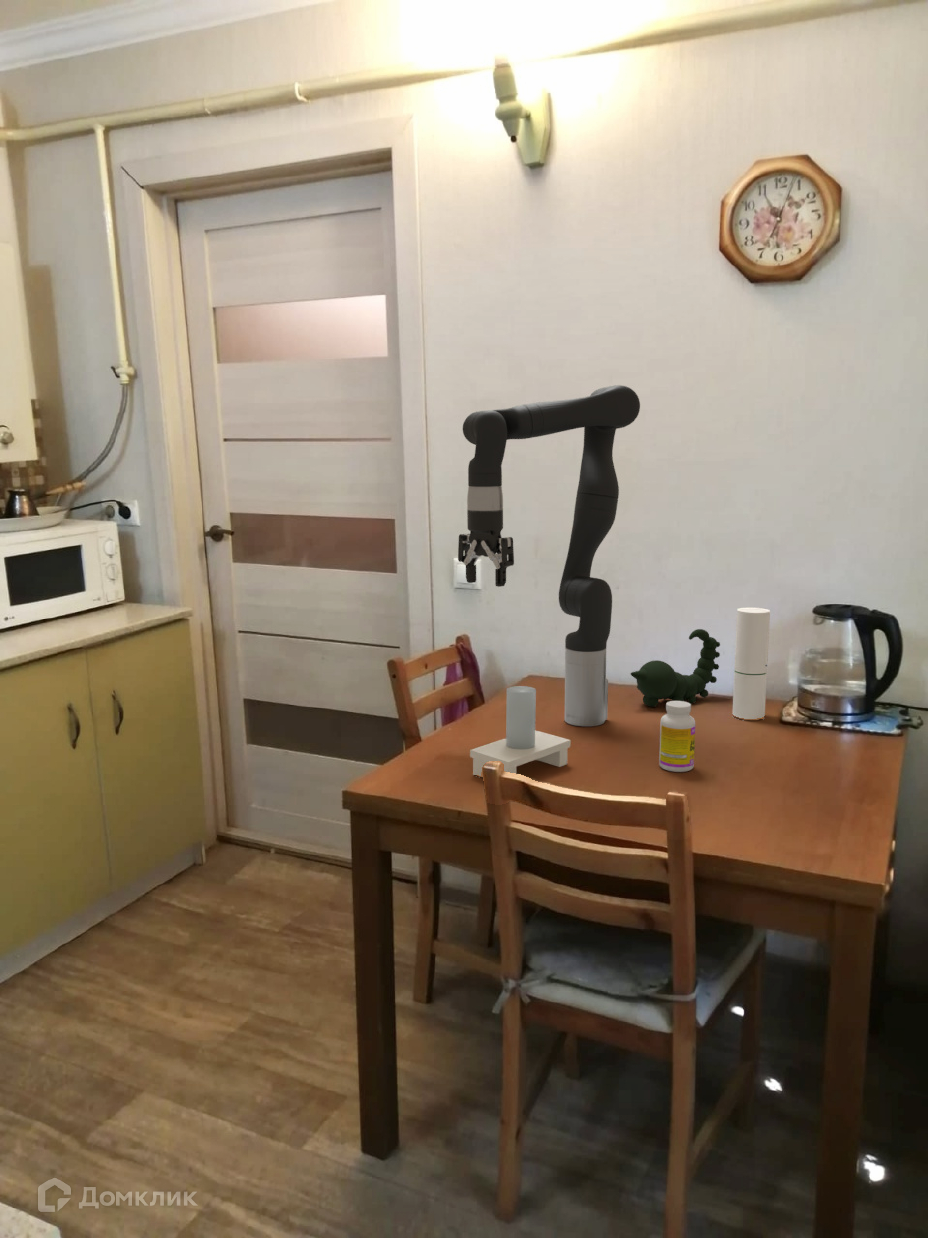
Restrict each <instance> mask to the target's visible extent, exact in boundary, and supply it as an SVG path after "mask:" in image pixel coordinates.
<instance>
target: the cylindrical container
mask: <svg viewBox="0 0 928 1238" xmlns="http://www.w3.org/2000/svg"><path fill="white" fill-rule="evenodd" d="M770 620H771V610H770V609H767V608H761V607H740V608H739V607H738V608H737V610H736V629H735V631H736V632H735V646H734V648H735V649H734V652H735V653H734V670H733V671H734V672H733V674H734V675H733V693H732V694H733V695H732V712H731V713H732V714H733V715H734V716H736V717H739V718H744V719H757V718H762V717H764V716H765V715H766V697H767V679H768V678H767V677H768V676H767V675H768V660H769V659H768V658H769V657H768V656H769V640H770V639H769V638H770V636H769V635H770V623H771V622H770ZM732 714H731V715H732ZM765 717H766V716H765Z"/></svg>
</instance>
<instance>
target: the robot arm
mask: <svg viewBox="0 0 928 1238" xmlns="http://www.w3.org/2000/svg"><path fill="white" fill-rule="evenodd" d="M640 410H641V402H640V398H639V396H638V394H637V392H636V391H635V390H633V389H632V388H631V387H628V386H626V385H621V384H617V385H616V384H615V385H612V386H611V385H610V386H606V387H601V388H598V389H596V390H593V392H592V393H591V394H590V395H589V396H583V397H578V398H570V399H561V400H551V401H550V400H549V401H541V402H540V401H539V402H534V403H533V402H531V403H526V404H521V405H515V406H512V407H508V408H499V409H488V410H479V411H475V412H472V413H470V414H469V415H468V416H467V417H466V418H465V420H464V421H463V424H462V433H463V436H464V438H465V440H467V441H468V442H469V443H470V444H473V445H475V447H474V448H475V450H474V457H473V458H471V460H469V462H468V467H467V468H468V469H467V474H468V476H467V477H468V478H467V481H468V484H467V485H468V487H467V499H466V501H467V502H466V505H467V507H466V510H467V511H466V513H467V516H466V517H467V520H466V521H467V522H466V523H467V530H468V531H470V532H469V533H462V534H461V533H460V534H459V535H458V545H457V546H458V547H457V549H458V550H457V553H458V554H457V560H458V562H460V563H463V565H465V579H466V582H467V583H468V584H473V583H476V582H477V565H476V562H477V561H478V559H479V558H480V557H482V556H483V557H484V558H485V557H486V558H489V560H490V561H491V562H492V563H493V565H494V567H495V572H494V573H495V578H494V580H495V582H494V583H495V584H494V585H495V587H498V588H499V587H504V586H505V584H506V582H507V568H508V567H511V566H514V565H515V556H514V555H515V554H514V550H515V549H514V539H513V537H512V536H507V537H502V533H501V532H502V531H503V529H504V495H503V494H504V493H503V486H502V485H503V478H502V477H503V474H502V473H503V472H502V464H503V459H504V458H505V457H504V456H505V452H506V447H507V441H508V440H509V441H510V440H526V439H532V438H539V437H543V436H549V435H553V434H558V433H560V432H567V431H571V430H575V429H580V428H583V429H584V430H583V448H582V457H581V463H580V464H581V465H580V469H579V470H580V471H579V479H578V480H579V481H578V486H577V489H576V498H575V505H574V511H573V521H572V528H571V533H570V539H569V546H568V551H567V556H566V560H565V562H564V563H565V564H564V568H563V571H562V575H561V578H560V579H561V580H560V583H559V590H558V604H559V607H560V609H561V611H562V612H563V613H564V614H566V615H568V616H573V617H576V618H577V617H578V618H579V624H578V629H577V630H575V631H572V632H569V633H567V635H565V644H564V645H565V646H564V649H565V651H564V660H565V661H564V722H565V723H567V724H568V725H571V726H577V727H597V726H601V725H602V724H604V723H606V720H608V712H609V711H608V709H609V708H608V705H609V704H608V702H609V700H608V699H609V679H608V678H607V647H608V646H607V643H608V640H609V638H610V637H609V636H610V633H611V627H612V613H613V612H612V608H613V593H612V589H611V586H610V585H609V583H608V581H606V580H604V579H601V578H597V577H591V571H592V565H593V561H594V558H595V555H596V553H597V551H598V548H599V547H600V545H601V544H602V542H603V541H604V539H605V538H606V537H607V535H608V534H609V532H610V531H611V528H612V526H613V525H614V522H615V520H616V516H617V509H618V504H619V503H618V501H619V495H620V487H619V481H618V476H617V472H616V468H615V464H614V460H613V459H614V458H613V448H614V442H615V435H616V431H617V429H622V428H625V427H627V426H629V425H631V424H632V423H634V422H635V420H636V419H637V418H638V416H639V413H640Z"/></svg>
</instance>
